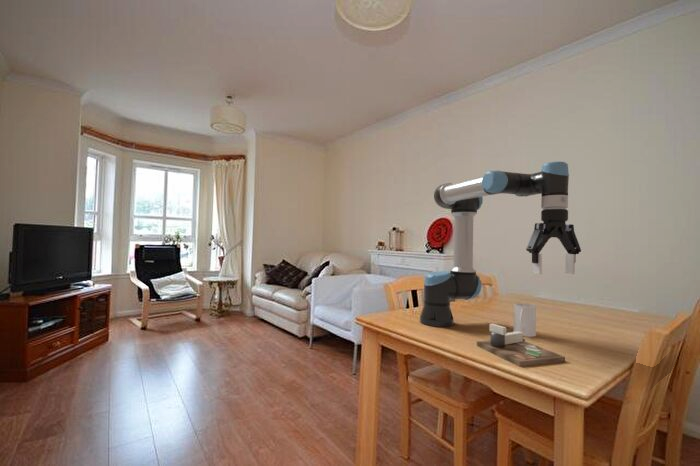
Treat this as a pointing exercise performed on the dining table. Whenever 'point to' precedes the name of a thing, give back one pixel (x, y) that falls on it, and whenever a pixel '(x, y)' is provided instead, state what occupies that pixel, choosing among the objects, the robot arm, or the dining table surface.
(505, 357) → the board
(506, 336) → the peg lever
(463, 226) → the robot arm
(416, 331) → the dining table surface
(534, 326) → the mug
